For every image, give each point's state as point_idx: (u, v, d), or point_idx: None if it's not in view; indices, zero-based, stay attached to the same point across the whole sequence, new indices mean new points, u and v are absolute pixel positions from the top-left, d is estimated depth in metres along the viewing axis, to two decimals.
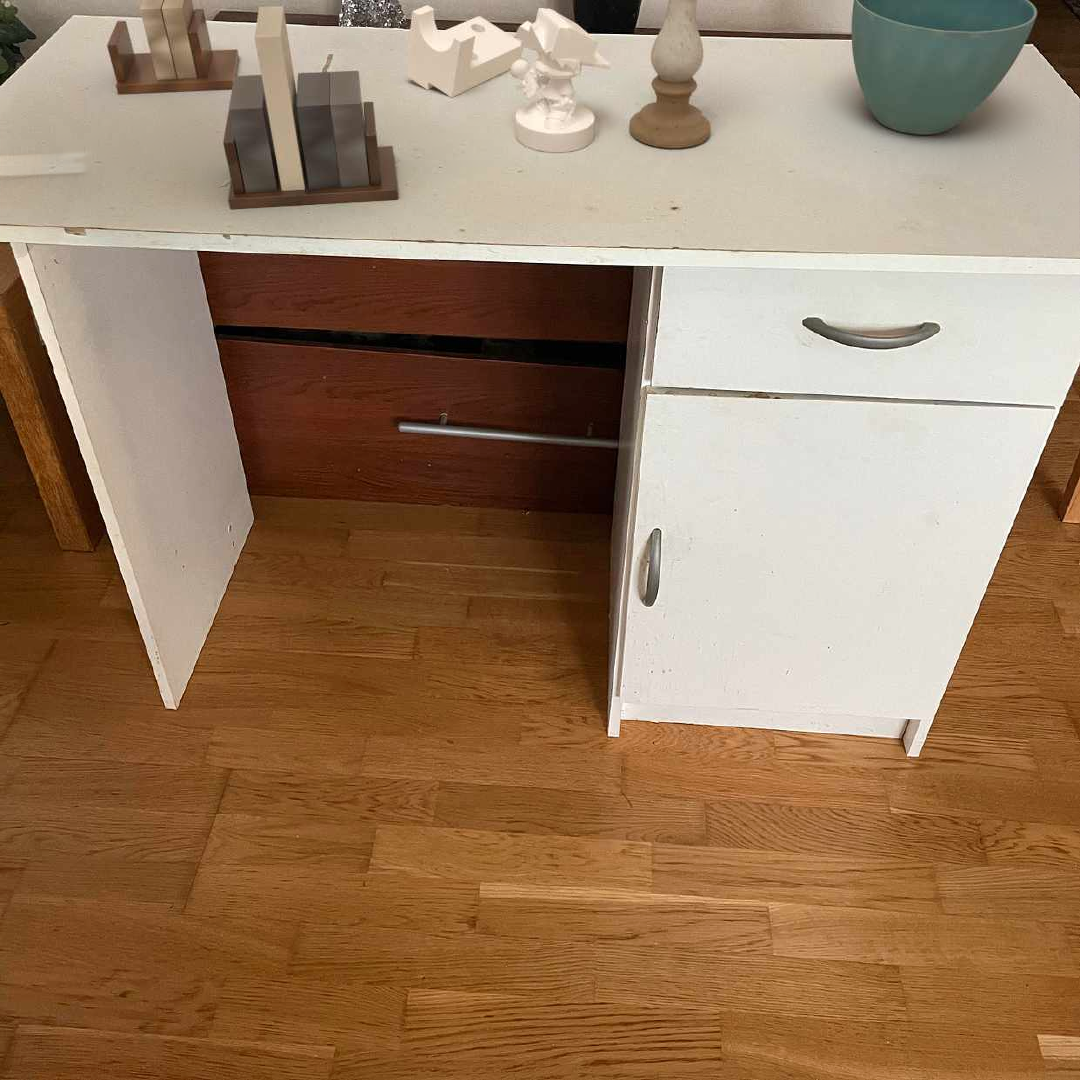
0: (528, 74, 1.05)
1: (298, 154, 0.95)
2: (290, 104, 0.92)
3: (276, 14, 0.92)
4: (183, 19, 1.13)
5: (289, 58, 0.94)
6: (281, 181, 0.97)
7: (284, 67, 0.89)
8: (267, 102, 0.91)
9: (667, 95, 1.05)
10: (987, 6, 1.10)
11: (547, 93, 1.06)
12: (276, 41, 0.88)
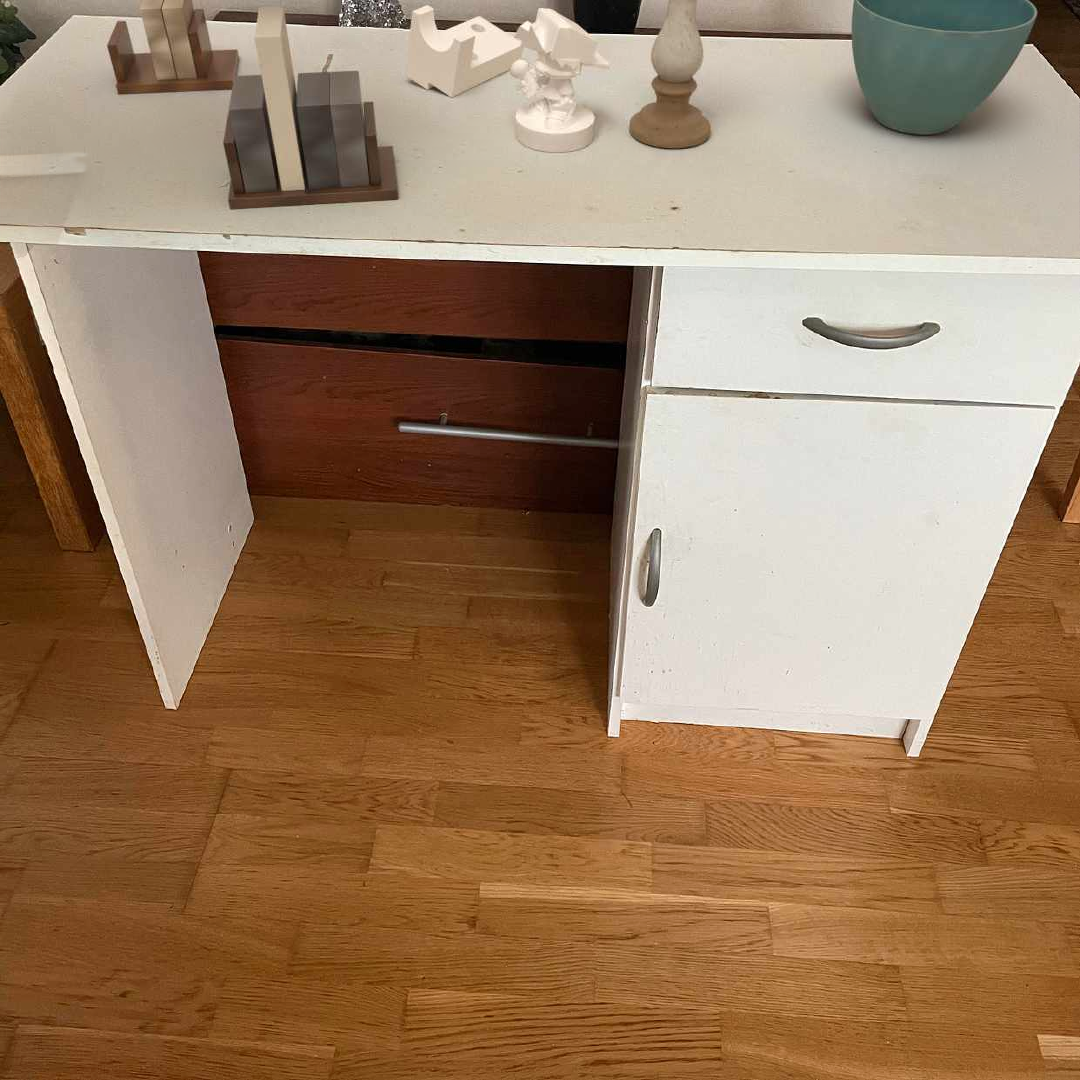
0: (528, 74, 1.05)
1: (298, 154, 0.95)
2: (290, 104, 0.92)
3: (276, 14, 0.92)
4: (183, 19, 1.13)
5: (289, 58, 0.94)
6: (281, 181, 0.97)
7: (284, 67, 0.89)
8: (267, 102, 0.91)
9: (667, 95, 1.05)
10: (987, 6, 1.10)
11: (547, 93, 1.06)
12: (276, 41, 0.88)
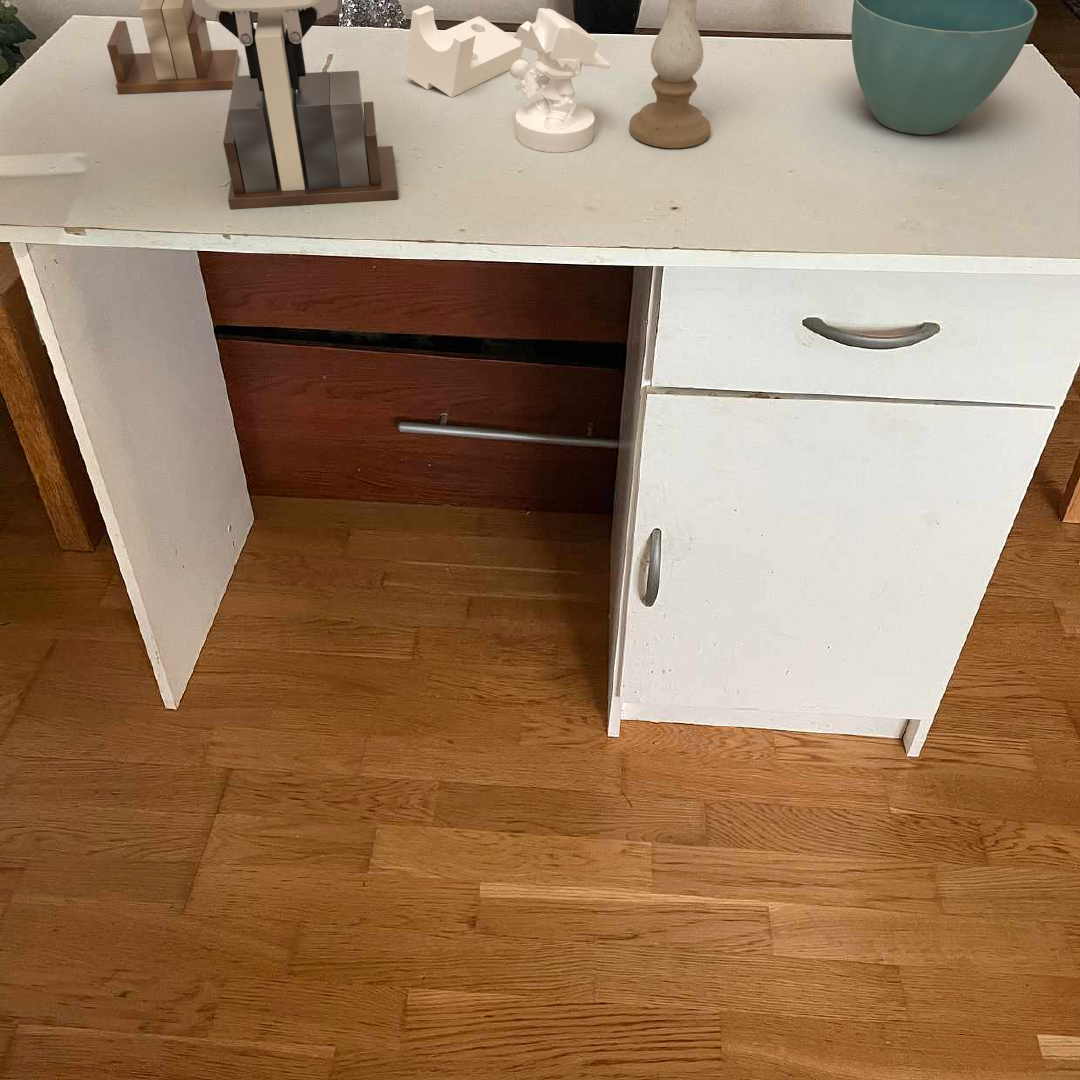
0: (528, 74, 1.05)
1: (298, 154, 0.95)
2: (290, 104, 0.92)
3: (276, 14, 0.92)
4: (183, 19, 1.13)
5: None
6: (281, 181, 0.97)
7: (284, 67, 0.89)
8: (267, 102, 0.91)
9: (667, 95, 1.05)
10: (987, 6, 1.10)
11: (547, 93, 1.06)
12: (276, 40, 0.88)
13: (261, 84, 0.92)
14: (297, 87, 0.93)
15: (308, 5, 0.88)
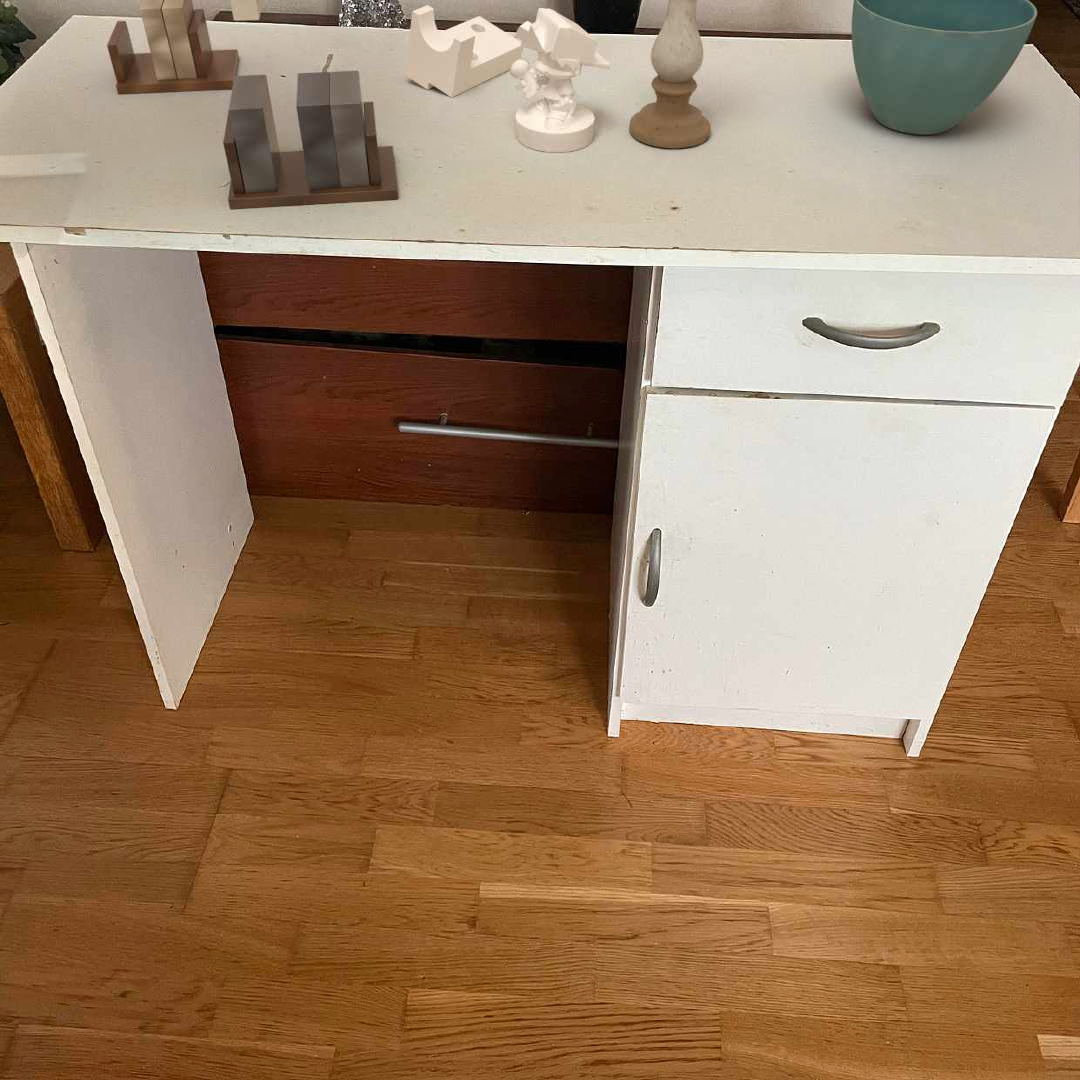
0: (528, 74, 1.05)
1: None
2: None
3: None
4: (183, 19, 1.13)
5: None
6: (233, 8, 0.88)
7: None
8: None
9: (667, 95, 1.05)
10: (987, 6, 1.10)
11: (547, 93, 1.06)
12: None
13: None
14: None
15: None
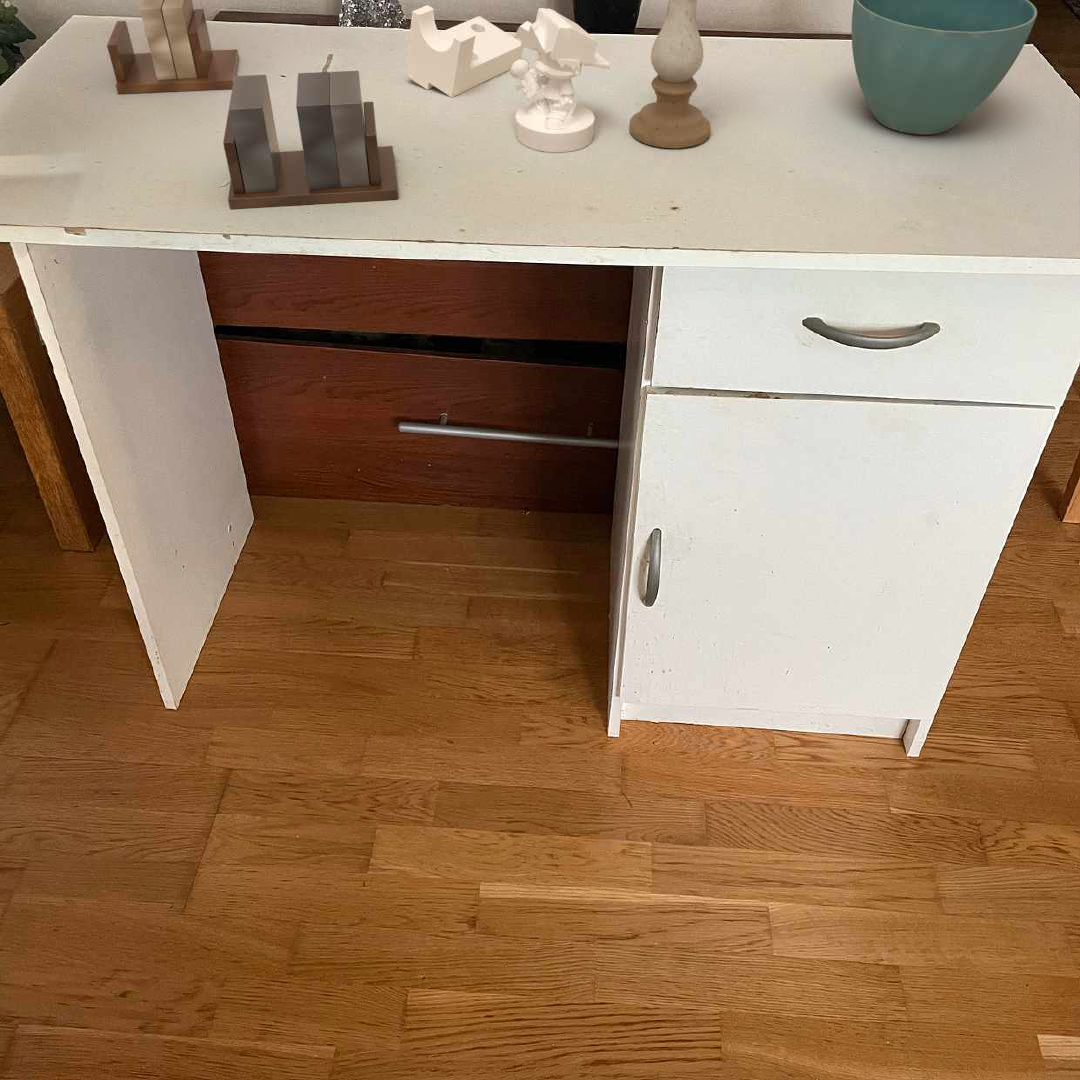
0: (528, 74, 1.05)
1: None
2: None
3: None
4: (183, 19, 1.13)
5: None
6: None
7: None
8: None
9: (667, 95, 1.05)
10: (987, 6, 1.10)
11: (547, 93, 1.06)
12: None
13: None
14: None
15: None
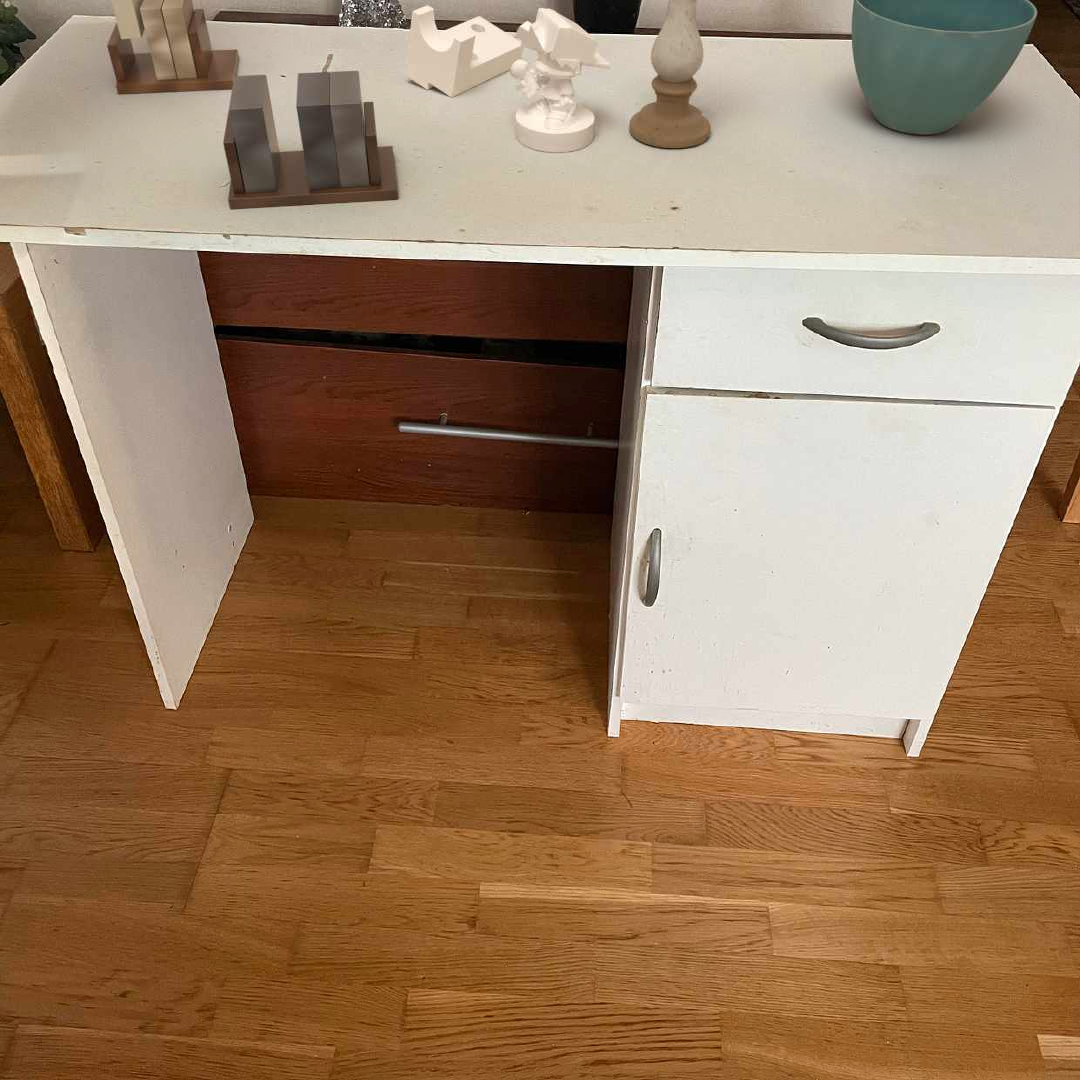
0: (528, 74, 1.05)
1: (132, 4, 1.11)
2: None
3: None
4: (183, 19, 1.13)
5: None
6: (119, 29, 1.12)
7: None
8: None
9: (667, 95, 1.05)
10: (987, 6, 1.10)
11: (547, 93, 1.06)
12: None
13: None
14: None
15: None
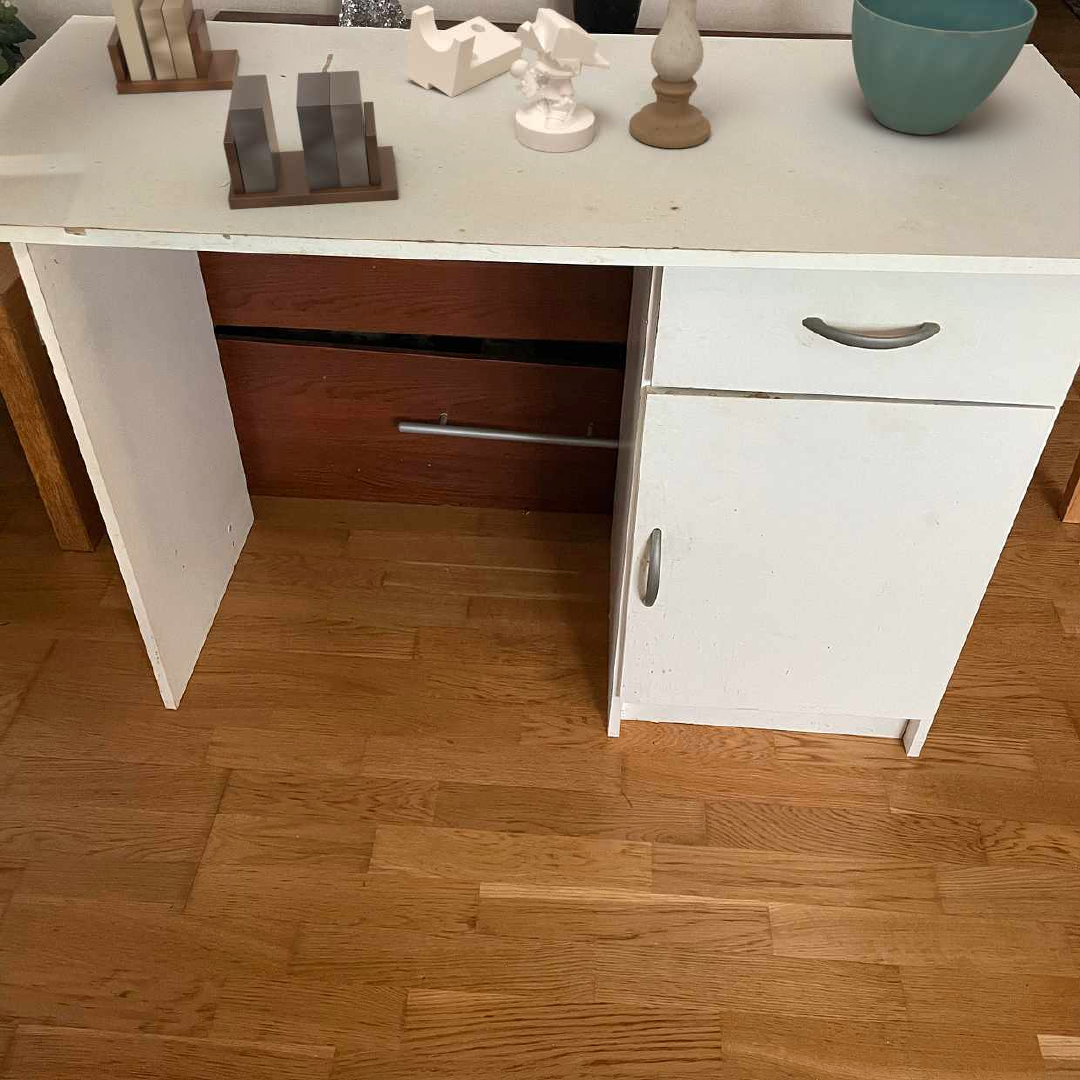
0: (528, 74, 1.05)
1: (142, 48, 1.14)
2: (131, 3, 1.11)
3: None
4: (183, 19, 1.13)
5: None
6: (130, 72, 1.16)
7: None
8: (111, 1, 1.10)
9: (667, 94, 1.05)
10: (987, 6, 1.10)
11: (547, 93, 1.06)
12: None
13: None
14: None
15: None
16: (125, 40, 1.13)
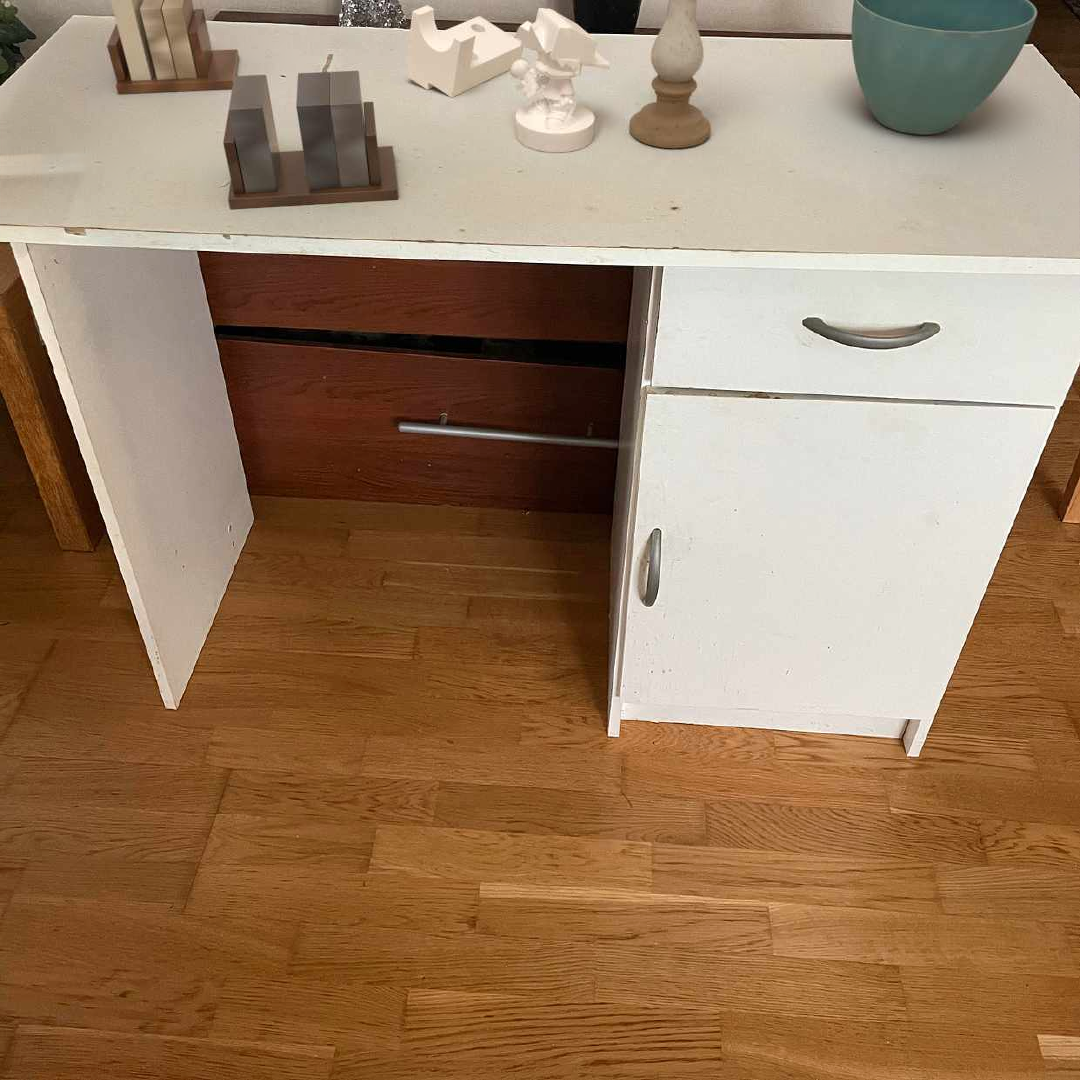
0: (528, 74, 1.05)
1: (142, 48, 1.14)
2: (131, 3, 1.11)
3: None
4: (183, 19, 1.13)
5: None
6: (130, 72, 1.16)
7: None
8: (111, 1, 1.10)
9: (667, 94, 1.05)
10: (987, 6, 1.10)
11: (547, 93, 1.06)
12: None
13: None
14: None
15: None
16: (125, 40, 1.13)
